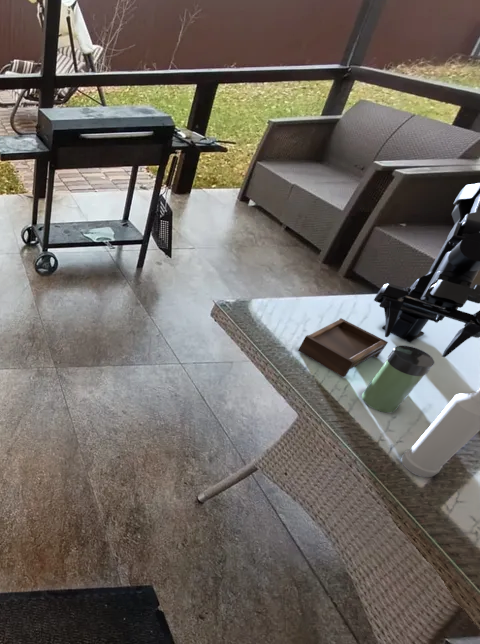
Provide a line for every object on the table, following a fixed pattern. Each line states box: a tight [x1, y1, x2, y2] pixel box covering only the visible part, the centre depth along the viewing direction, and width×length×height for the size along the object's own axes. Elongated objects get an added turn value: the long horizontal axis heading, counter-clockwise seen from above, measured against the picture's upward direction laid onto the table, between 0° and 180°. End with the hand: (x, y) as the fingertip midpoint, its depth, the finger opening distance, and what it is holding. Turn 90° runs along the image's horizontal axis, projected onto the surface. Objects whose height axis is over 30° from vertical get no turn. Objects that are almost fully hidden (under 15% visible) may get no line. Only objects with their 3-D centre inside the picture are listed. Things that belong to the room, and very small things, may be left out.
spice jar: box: [361, 344, 435, 414], centre depth 94 cm, size 6×6×13 cm
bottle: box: [400, 387, 480, 478], centre depth 78 cm, size 5×5×25 cm
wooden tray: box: [297, 318, 389, 378], centre depth 109 cm, size 14×10×4 cm
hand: (414, 346), depth 94 cm, fingers open, 9 cm apart
